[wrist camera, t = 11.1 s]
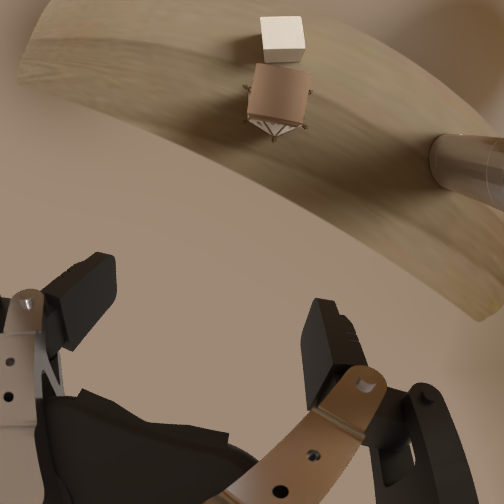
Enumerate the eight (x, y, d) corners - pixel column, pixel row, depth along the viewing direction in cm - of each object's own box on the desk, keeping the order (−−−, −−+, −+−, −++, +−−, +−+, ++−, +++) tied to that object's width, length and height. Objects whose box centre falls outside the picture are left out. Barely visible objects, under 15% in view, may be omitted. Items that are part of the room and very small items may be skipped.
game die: (266, 123, 38) (221, 139, 32) (270, 69, 32) (221, 73, 26) (321, 138, 35) (284, 157, 28) (329, 79, 29) (291, 81, 23)
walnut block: (304, 86, 26) (312, 73, 20) (296, 127, 28) (302, 123, 22) (259, 77, 26) (256, 62, 20) (251, 119, 28) (246, 112, 22)
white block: (296, 33, 29) (300, 16, 24) (300, 61, 31) (305, 48, 26) (261, 34, 30) (260, 17, 24) (264, 63, 32) (263, 49, 26)
